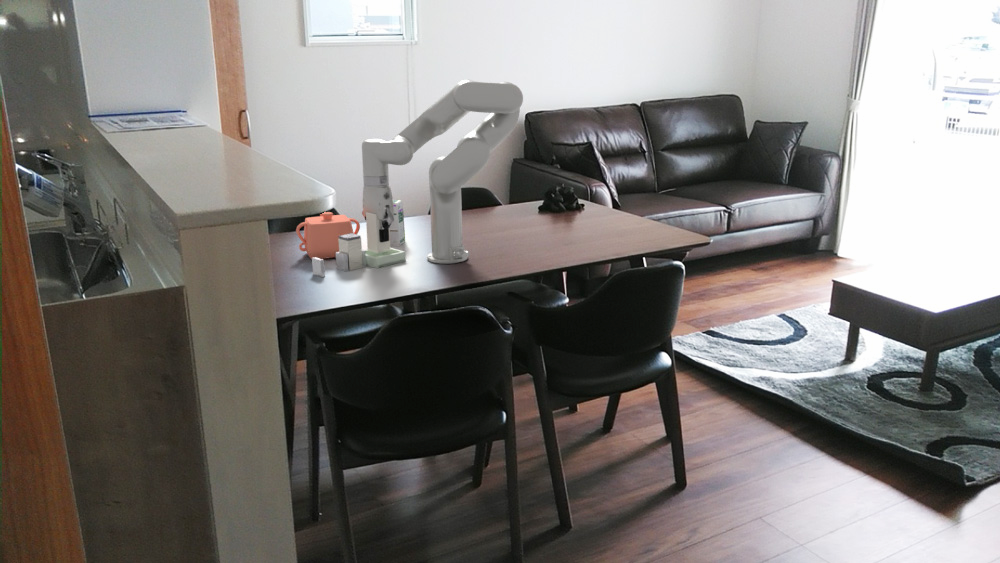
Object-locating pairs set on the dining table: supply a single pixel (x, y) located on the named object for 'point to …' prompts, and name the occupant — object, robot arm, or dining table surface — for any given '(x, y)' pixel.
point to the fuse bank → (344, 255)
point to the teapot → (325, 234)
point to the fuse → (375, 234)
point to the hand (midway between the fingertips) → (378, 239)
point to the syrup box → (397, 224)
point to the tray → (384, 258)
